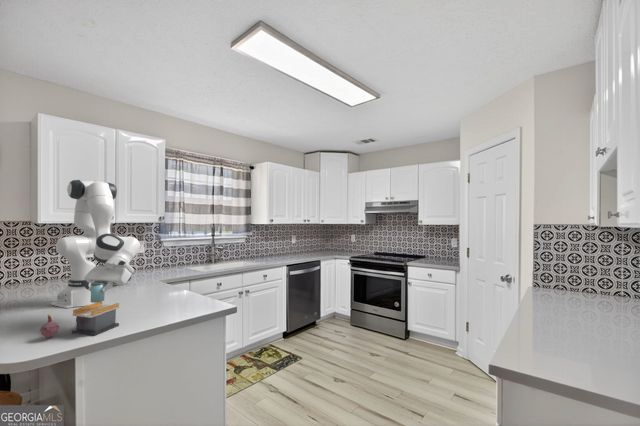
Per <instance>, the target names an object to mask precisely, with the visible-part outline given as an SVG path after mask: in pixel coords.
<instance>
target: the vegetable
mask: <svg viewBox="0 0 640 426" xmlns="http://www.w3.org/2000/svg"><path fill="white" fill-rule="evenodd" d="M47 319H48V320H47V322H45V323H44V324H42V325H41V326H40V328H39V333H40V335H42V336H43V337H45V338H46V339H49V338H52V337H53V336H55V335H56V334H57V333H59V330H60V325H59V323H57V322H55V321H53V320H52V317H51V315H50V314H47Z"/></svg>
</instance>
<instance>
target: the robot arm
mask: <svg viewBox="0 0 640 426" xmlns="http://www.w3.org/2000/svg"><path fill="white" fill-rule="evenodd" d="M66 191H67V194H68V197H70V198H71V199H72V200H76V202H75V207H74V213H73V214H74V217H73V224H74V226H75V227H76V228H78V229H80V230H82V231H83V235H69V236H64V237H61V238H59V239H58V240H57V241H56V242H55V243H56V244H55V250H56V252H57V254H59V255H60V256H62V257H64V258H65V259H66V261H68V264H69V267H70V279H69V280H68V279H67V281H66V284H67V286H65V288H64V289H61V291H59V292H58V293H57V296H56V300H54V301H52V302H51V303H50V305H51V306H56V307H59V308H63V309H68V308H76V307H77V308H80V307H84V306H87V305H91V304H94V303H92V302H91V283H95V282H105V284H107V285H106V286H105V287H102V289H101V290H100V291H101V292H105V293H106V292H107V291H108V290H109V289H111V288H113V287H112V286H113V285H118V286H123V285H125V284H127V281H128V279H129V278H130V276H131V277H132V273H134V272H135V269H134V268H133V267H132V266H131V265H130V263H131V261H132V260H133V259H135V257H136V256H137V254H138V252H139V250H140V248H141V243H140V241H139V240H138V239H137V238H136V237H134V236H131V235H130V236H121V235H120V236H119V235H115V234H113V233H111V223H112V218H113V215H114V210H115V202H114V200H115V199H116V197H117V195H118V189H117V186H116V184H114V183H111V182H105V181H100V180H99V181H98V180H80V179H73V180H70V181H69V182H68V185H67V188H66ZM86 255H93V258H94V259H95V261H96V262H98V263H100V264H98V265H96V264H95V263H94V262H93V261H91V260H88V259H87V257H86ZM101 263H102V264H101ZM128 282H129V281H128Z"/></svg>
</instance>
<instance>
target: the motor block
mask: <svg viewBox="0 0 640 426" xmlns="http://www.w3.org/2000/svg"><path fill="white" fill-rule="evenodd" d="M119 308H120V303H118V302H116V303H114V304H113V303H112V304H103V301H102V302H96V303H94V304H91V305H86V306H80V307H77V308H75V309H73V310H72V316H73V317H76V318H75V319H76V320H75V323H76V324H75V326H76V328H74V329H72V330H71V333H72V334H76V335H78V334H79V335H86V336H94V337H95V336H98V335H102V333H105V332H108V331H110V330H112V329H115V328H116V327H119V326H120V323H119V322H116V321H117V320H116V319H117V318H116V316H117V315H116V313H117V309H119Z"/></svg>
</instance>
